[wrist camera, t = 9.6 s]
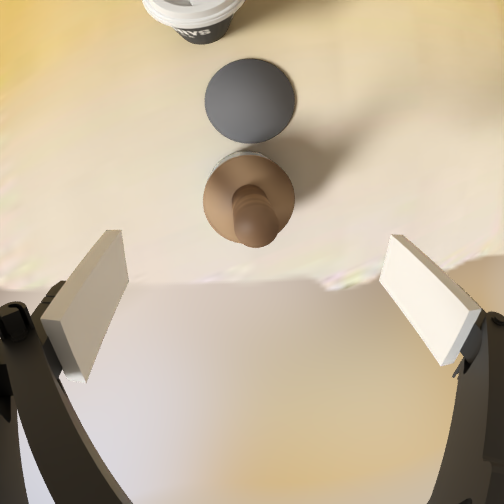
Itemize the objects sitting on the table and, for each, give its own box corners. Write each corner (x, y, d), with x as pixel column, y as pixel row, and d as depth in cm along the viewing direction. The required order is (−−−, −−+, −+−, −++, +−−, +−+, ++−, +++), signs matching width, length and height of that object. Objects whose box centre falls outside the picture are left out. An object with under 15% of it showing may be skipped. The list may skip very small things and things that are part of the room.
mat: (237, 44, 31) (237, 43, 31) (310, 91, 35) (311, 91, 34) (187, 114, 35) (187, 114, 34) (262, 159, 38) (262, 159, 38)
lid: (235, 137, 32) (239, 145, 24) (309, 186, 35) (335, 210, 27) (187, 212, 35) (176, 245, 27) (260, 254, 39) (270, 294, 30)
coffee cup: (167, -5, 27) (141, -56, 14) (242, -8, 28) (253, -64, 14) (164, 58, 31) (131, 28, 18) (241, 54, 32) (251, 20, 18)
